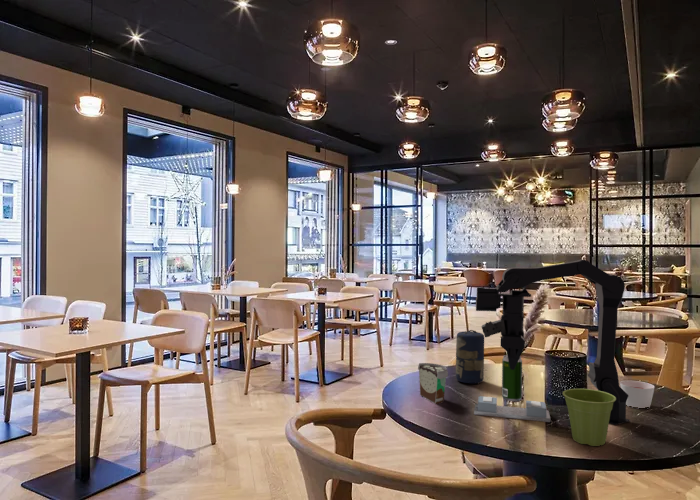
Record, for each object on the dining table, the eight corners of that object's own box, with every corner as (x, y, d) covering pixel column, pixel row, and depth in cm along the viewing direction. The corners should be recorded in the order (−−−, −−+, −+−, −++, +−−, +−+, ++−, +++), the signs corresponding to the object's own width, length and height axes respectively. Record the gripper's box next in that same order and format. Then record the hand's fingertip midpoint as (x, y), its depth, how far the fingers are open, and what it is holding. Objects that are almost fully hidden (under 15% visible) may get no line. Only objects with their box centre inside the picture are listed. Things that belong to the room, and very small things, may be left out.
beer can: (512, 402, 142) (513, 359, 142) (497, 397, 146) (498, 355, 146) (525, 399, 145) (526, 357, 145) (510, 395, 149) (511, 353, 149)
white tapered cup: (646, 412, 147) (647, 390, 147) (614, 404, 154) (614, 383, 154) (659, 406, 153) (659, 385, 153) (627, 399, 160) (627, 378, 160)
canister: (450, 379, 182) (451, 328, 182) (474, 377, 185) (475, 327, 185) (464, 386, 173) (465, 332, 173) (489, 384, 176) (489, 331, 175)
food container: (456, 403, 154) (456, 370, 153) (438, 405, 151) (438, 372, 151) (434, 392, 165) (434, 361, 165) (417, 394, 163) (418, 362, 163)
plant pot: (578, 428, 133) (578, 385, 133) (624, 443, 124) (625, 396, 124) (552, 438, 126) (552, 393, 126) (599, 454, 117) (600, 405, 117)
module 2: (544, 410, 145) (544, 401, 145) (546, 417, 139) (546, 407, 139) (525, 408, 146) (526, 399, 146) (526, 415, 140) (526, 405, 140)
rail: (548, 414, 145) (548, 410, 145) (550, 422, 138) (550, 418, 138) (475, 406, 151) (475, 403, 151) (474, 414, 144) (474, 410, 144)
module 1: (496, 406, 148) (496, 396, 148) (496, 412, 143) (496, 402, 143) (478, 404, 150) (478, 395, 150) (477, 410, 144) (477, 401, 144)
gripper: (485, 307, 157) (484, 358, 157) (481, 314, 139) (480, 372, 139) (523, 308, 153) (523, 361, 153) (525, 317, 135) (524, 376, 136)
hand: (512, 367), depth 145 cm, fingers closed on beer can, 5 cm apart
